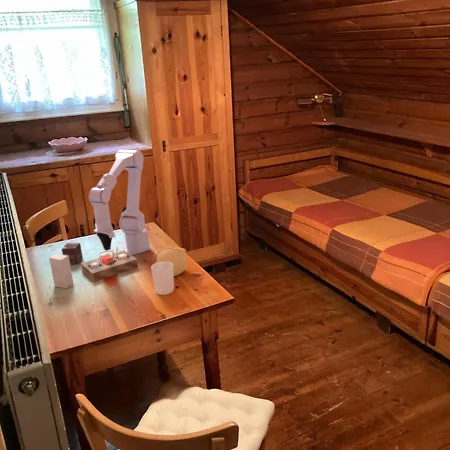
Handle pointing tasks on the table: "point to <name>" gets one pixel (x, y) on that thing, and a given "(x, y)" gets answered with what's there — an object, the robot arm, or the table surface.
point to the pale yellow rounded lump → (173, 258)
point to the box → (73, 252)
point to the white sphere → (94, 265)
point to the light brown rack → (109, 266)
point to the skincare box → (61, 271)
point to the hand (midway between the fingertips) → (107, 249)
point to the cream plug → (122, 256)
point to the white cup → (163, 277)
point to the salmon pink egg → (110, 260)
